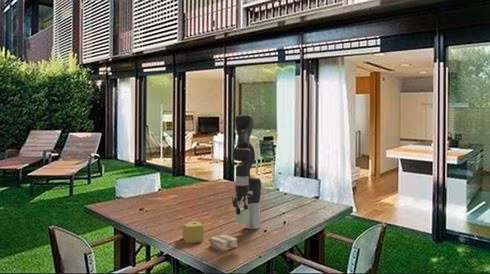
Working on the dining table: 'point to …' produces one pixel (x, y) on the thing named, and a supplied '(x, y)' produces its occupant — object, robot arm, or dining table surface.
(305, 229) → the dining table surface
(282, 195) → the dining table surface
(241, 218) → the block
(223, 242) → the birch box
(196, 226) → the cheese
